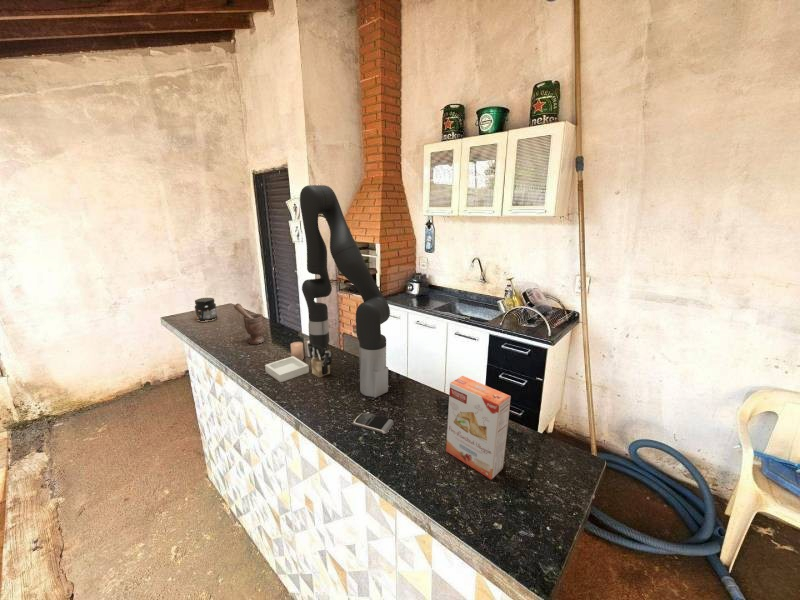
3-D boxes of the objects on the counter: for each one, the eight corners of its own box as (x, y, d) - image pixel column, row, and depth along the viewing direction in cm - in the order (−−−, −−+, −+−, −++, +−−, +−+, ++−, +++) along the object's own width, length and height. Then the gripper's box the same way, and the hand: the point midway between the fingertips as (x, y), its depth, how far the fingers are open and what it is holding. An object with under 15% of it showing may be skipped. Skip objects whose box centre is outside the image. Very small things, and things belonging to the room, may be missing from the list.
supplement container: (197, 318, 199) (194, 298, 196) (218, 316, 203) (215, 296, 200) (195, 323, 190) (192, 302, 187) (217, 321, 194) (214, 301, 191)
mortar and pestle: (245, 349, 157) (240, 306, 152) (236, 344, 162) (231, 303, 157) (269, 341, 166) (265, 301, 161) (259, 337, 171) (255, 298, 166)
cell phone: (362, 415, 109) (362, 411, 108) (394, 424, 105) (394, 420, 104) (352, 426, 103) (352, 422, 103) (385, 435, 99) (385, 431, 99)
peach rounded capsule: (306, 359, 147) (305, 344, 145) (295, 362, 144) (294, 347, 142) (300, 355, 151) (299, 340, 149) (289, 359, 147) (288, 343, 145)
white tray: (309, 372, 136) (308, 365, 135) (280, 382, 127) (279, 375, 127) (293, 362, 144) (293, 356, 143) (265, 371, 135) (265, 364, 135)
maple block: (330, 373, 135) (329, 359, 134) (319, 377, 132) (318, 363, 130) (323, 369, 138) (322, 355, 137) (312, 373, 135) (311, 359, 133)
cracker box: (444, 452, 92) (448, 381, 86) (458, 442, 96) (462, 374, 91) (491, 482, 82) (498, 404, 77) (503, 469, 86) (512, 394, 81)
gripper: (300, 328, 133) (302, 368, 137) (321, 338, 123) (323, 381, 127) (317, 324, 138) (319, 363, 142) (338, 333, 128) (339, 374, 133)
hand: (320, 371), depth 135 cm, fingers closed on maple block, 5 cm apart
